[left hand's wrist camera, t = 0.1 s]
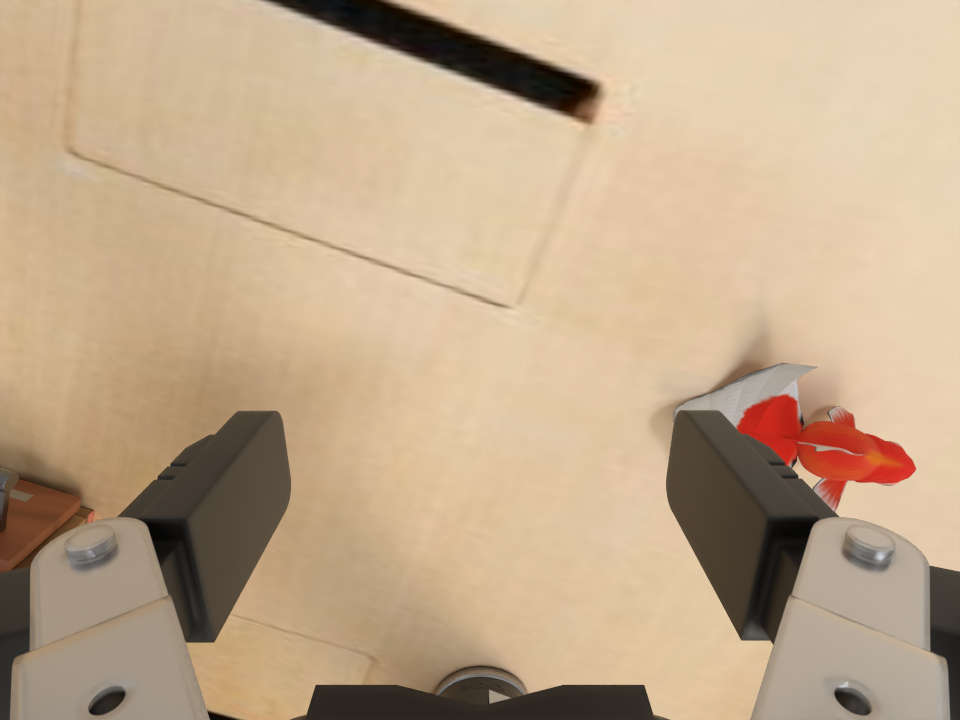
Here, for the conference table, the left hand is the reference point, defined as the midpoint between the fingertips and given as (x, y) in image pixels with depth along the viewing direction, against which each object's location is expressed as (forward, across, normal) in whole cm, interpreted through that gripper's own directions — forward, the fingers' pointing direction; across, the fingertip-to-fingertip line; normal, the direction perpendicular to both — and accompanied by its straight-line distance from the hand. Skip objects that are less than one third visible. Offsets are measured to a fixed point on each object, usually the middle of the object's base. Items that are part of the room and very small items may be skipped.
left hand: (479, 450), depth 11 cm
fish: (+29, +22, -14) cm, 39 cm away
